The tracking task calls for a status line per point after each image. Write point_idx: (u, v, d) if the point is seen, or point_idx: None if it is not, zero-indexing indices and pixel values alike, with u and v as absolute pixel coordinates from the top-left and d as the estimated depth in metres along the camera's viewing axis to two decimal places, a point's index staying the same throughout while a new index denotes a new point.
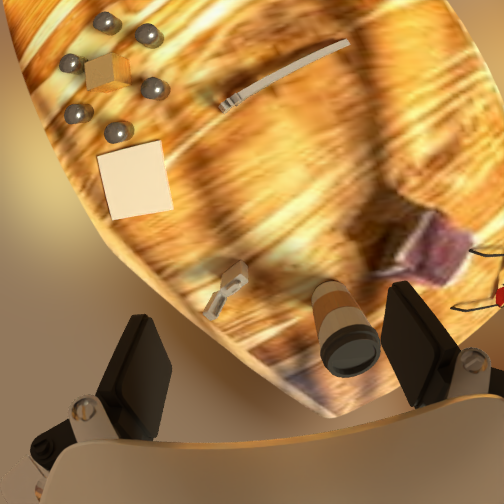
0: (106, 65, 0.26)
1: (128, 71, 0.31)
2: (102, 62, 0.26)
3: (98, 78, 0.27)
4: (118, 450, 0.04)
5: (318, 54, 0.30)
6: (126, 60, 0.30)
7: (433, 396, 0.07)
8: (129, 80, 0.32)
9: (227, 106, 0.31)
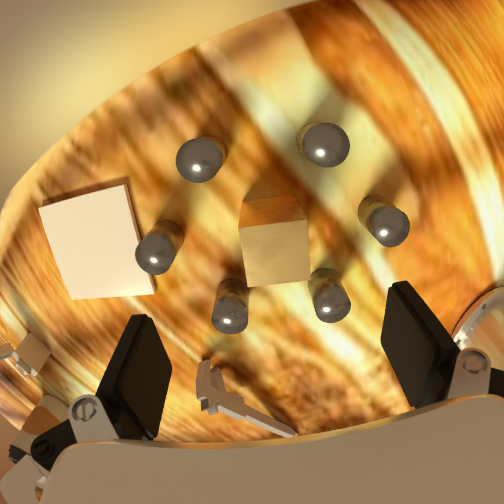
0: (284, 270, 0.18)
1: None
2: (295, 262, 0.18)
3: (261, 255, 0.18)
4: (118, 450, 0.04)
5: (275, 431, 0.33)
6: None
7: (433, 396, 0.07)
8: None
9: (201, 400, 0.25)
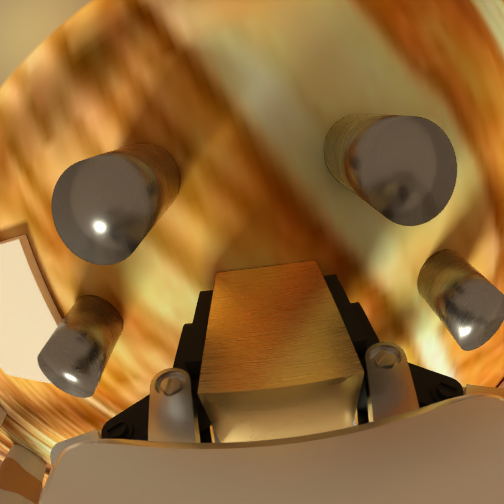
0: None
1: None
2: (323, 431, 0.07)
3: (253, 429, 0.07)
4: (118, 450, 0.04)
5: None
6: None
7: None
8: None
9: None
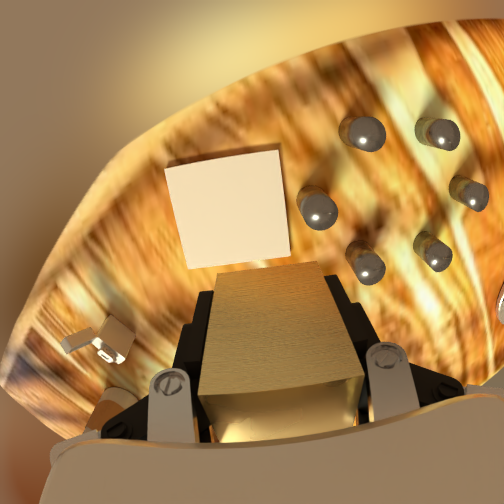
0: None
1: None
2: None
3: (253, 430, 0.07)
4: (118, 450, 0.04)
5: None
6: None
7: None
8: None
9: None
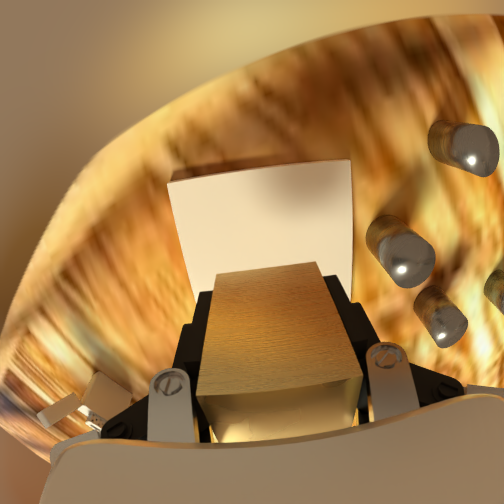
0: None
1: None
2: None
3: (252, 430, 0.07)
4: (118, 450, 0.04)
5: None
6: None
7: None
8: None
9: None
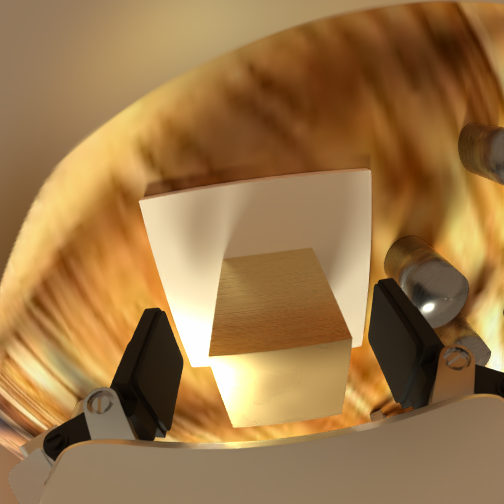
0: (298, 408, 0.09)
1: None
2: (319, 397, 0.09)
3: (256, 394, 0.08)
4: (118, 450, 0.04)
5: None
6: None
7: (417, 392, 0.07)
8: None
9: None
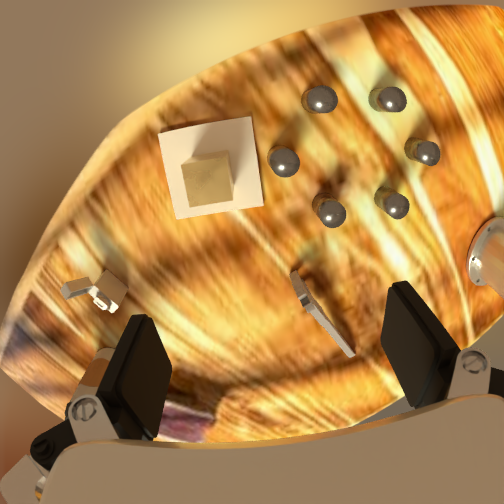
0: (213, 193, 0.26)
1: None
2: (220, 187, 0.25)
3: (196, 183, 0.25)
4: (118, 450, 0.04)
5: (342, 345, 0.41)
6: None
7: (433, 396, 0.07)
8: None
9: (301, 298, 0.33)
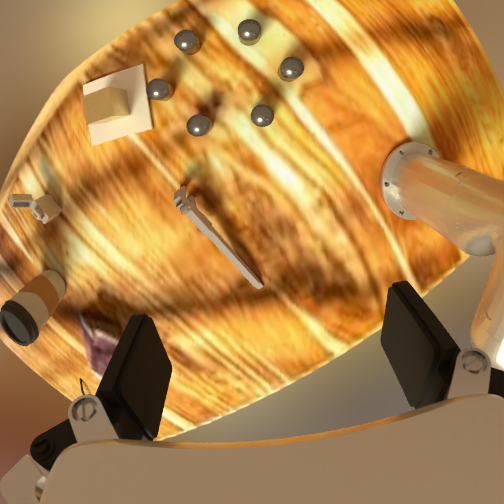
0: (100, 112, 0.29)
1: (116, 119, 0.35)
2: (104, 107, 0.29)
3: (91, 107, 0.29)
4: (118, 450, 0.04)
5: (240, 267, 0.44)
6: (126, 116, 0.34)
7: (433, 396, 0.07)
8: (107, 122, 0.35)
9: (177, 202, 0.37)
